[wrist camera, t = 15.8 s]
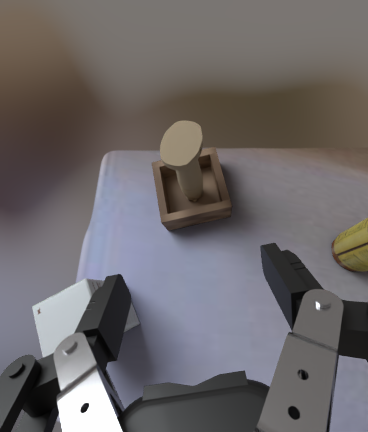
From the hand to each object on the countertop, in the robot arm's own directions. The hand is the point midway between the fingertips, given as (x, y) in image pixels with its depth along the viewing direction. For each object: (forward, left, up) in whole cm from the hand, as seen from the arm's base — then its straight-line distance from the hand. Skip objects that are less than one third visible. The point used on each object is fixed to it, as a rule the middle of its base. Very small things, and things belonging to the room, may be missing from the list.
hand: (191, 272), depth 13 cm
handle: (-1, -16, -24) cm, 29 cm away
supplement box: (+17, +1, -26) cm, 30 cm away
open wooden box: (0, -16, -25) cm, 30 cm away
